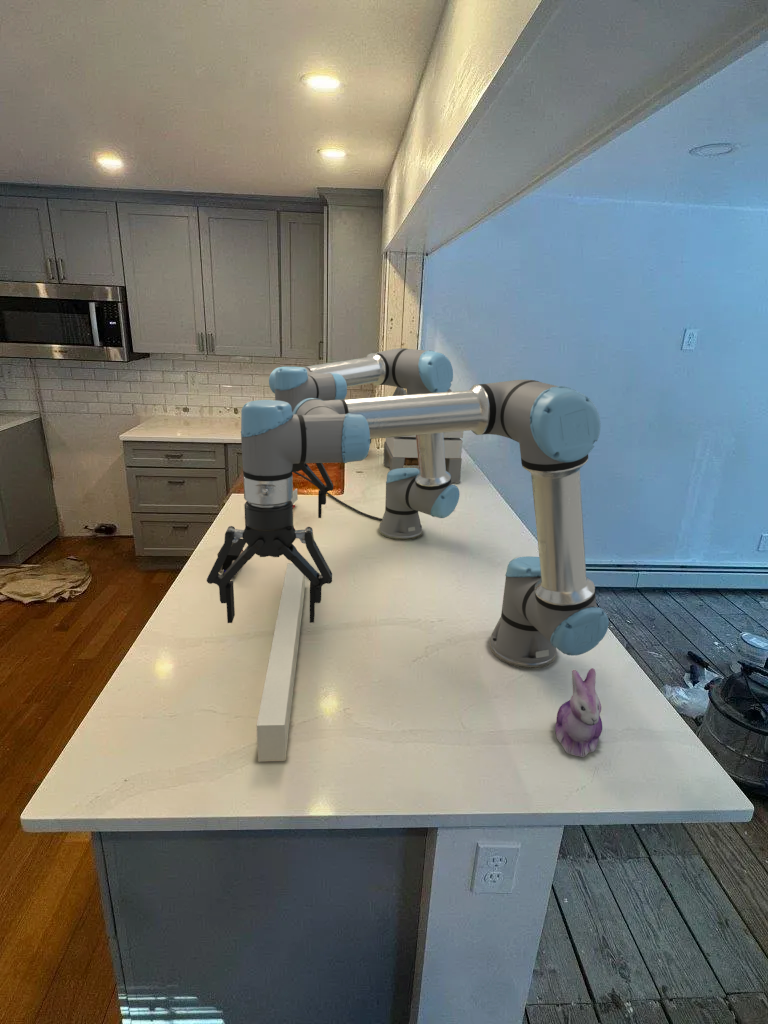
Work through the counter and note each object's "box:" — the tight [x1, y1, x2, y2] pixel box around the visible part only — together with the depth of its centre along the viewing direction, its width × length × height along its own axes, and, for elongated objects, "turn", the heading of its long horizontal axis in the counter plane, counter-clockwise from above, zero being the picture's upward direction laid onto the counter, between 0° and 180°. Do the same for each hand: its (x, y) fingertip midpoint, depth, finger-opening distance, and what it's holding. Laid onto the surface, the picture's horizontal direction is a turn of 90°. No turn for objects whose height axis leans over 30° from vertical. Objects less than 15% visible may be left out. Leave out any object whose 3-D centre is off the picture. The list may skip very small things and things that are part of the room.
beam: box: [256, 562, 306, 763], centre depth 127 cm, size 64×5×8 cm, turn 5°
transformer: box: [383, 387, 465, 484], centre depth 268 cm, size 34×33×41 cm
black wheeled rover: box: [217, 538, 247, 575], centre depth 166 cm, size 7×8×15 cm
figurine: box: [554, 667, 603, 758], centre depth 104 cm, size 9×10×15 cm
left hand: (292, 516), depth 144 cm, fingers open, 13 cm apart
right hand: (272, 618), depth 96 cm, fingers open, 13 cm apart
